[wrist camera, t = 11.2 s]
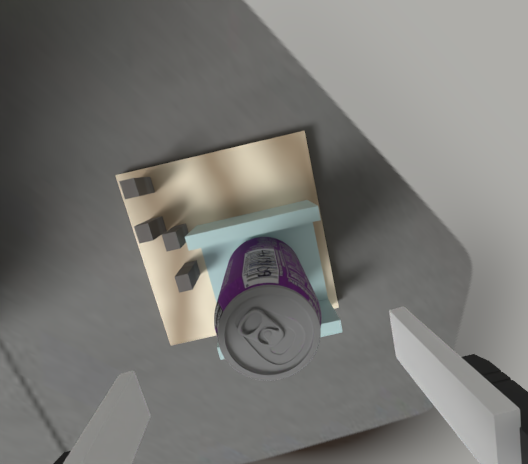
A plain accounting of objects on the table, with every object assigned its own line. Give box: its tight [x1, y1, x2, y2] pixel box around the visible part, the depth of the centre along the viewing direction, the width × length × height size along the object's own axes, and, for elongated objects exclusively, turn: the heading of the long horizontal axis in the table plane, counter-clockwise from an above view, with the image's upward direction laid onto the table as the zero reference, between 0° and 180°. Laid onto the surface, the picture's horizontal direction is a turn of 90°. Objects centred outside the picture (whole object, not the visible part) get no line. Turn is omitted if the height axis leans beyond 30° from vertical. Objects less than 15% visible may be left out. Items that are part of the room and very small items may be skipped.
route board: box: [115, 131, 339, 345], centre depth 28 cm, size 18×18×5 cm
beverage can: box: [214, 237, 322, 381], centre depth 24 cm, size 7×7×12 cm
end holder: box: [185, 200, 342, 360], centre depth 28 cm, size 11×11×5 cm
